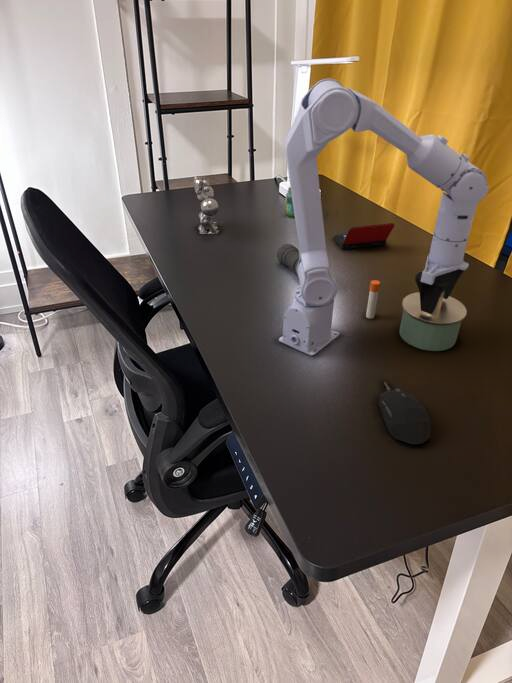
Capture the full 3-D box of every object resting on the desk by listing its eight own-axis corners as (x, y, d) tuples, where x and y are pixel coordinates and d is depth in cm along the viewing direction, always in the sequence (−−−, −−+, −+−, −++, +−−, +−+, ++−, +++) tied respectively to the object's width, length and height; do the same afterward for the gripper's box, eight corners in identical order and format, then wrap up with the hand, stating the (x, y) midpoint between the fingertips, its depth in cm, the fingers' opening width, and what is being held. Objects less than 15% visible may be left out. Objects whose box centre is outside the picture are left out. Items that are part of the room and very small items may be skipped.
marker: (371, 320, 102) (377, 285, 98) (363, 316, 103) (368, 282, 99) (376, 316, 104) (381, 281, 99) (368, 313, 105) (373, 279, 100)
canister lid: (450, 335, 88) (456, 313, 86) (390, 313, 94) (394, 292, 92) (474, 309, 95) (480, 288, 93) (417, 290, 102) (421, 270, 99)
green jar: (282, 213, 152) (283, 187, 148) (295, 211, 154) (296, 185, 150) (289, 218, 149) (290, 191, 145) (303, 216, 151) (304, 189, 146)
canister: (442, 358, 92) (449, 330, 88) (389, 337, 97) (394, 310, 94) (464, 333, 98) (471, 307, 95) (413, 315, 104) (419, 289, 101)
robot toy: (223, 241, 135) (221, 186, 127) (200, 243, 134) (197, 187, 126) (215, 221, 147) (213, 169, 139) (194, 223, 146) (191, 171, 137)
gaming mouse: (402, 382, 86) (406, 363, 84) (437, 445, 74) (442, 426, 71) (366, 384, 85) (369, 366, 83) (395, 449, 73) (399, 429, 71)
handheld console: (373, 234, 139) (377, 208, 135) (391, 250, 131) (396, 223, 127) (331, 239, 137) (333, 212, 133) (346, 255, 128) (350, 227, 124)
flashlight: (274, 264, 124) (274, 243, 121) (293, 260, 126) (294, 239, 123) (305, 290, 112) (306, 268, 109) (326, 286, 114) (328, 264, 111)
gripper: (457, 255, 80) (439, 327, 87) (488, 229, 89) (470, 296, 96) (415, 243, 83) (402, 314, 91) (450, 219, 92) (435, 285, 100)
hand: (434, 304), depth 94 cm, fingers open, 6 cm apart
